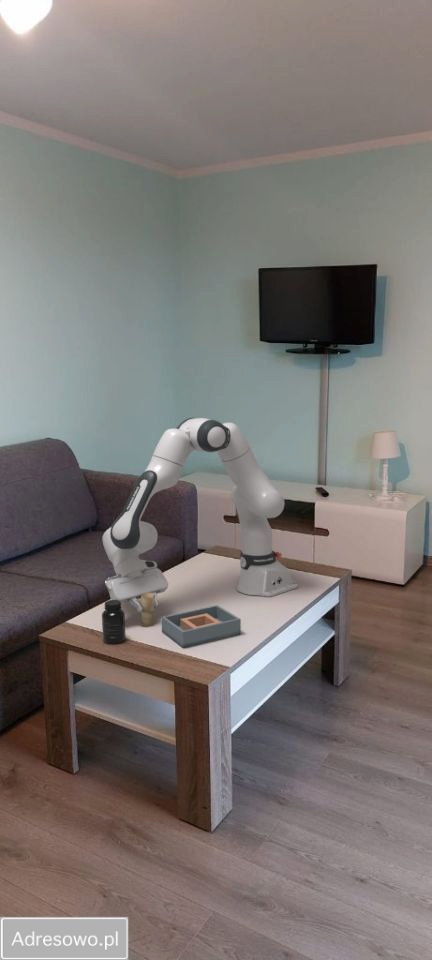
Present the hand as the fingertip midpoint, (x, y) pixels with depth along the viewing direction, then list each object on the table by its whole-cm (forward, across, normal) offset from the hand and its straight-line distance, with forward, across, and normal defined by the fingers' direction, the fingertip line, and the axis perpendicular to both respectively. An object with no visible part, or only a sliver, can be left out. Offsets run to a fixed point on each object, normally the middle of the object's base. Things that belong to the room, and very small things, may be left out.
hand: (148, 608), depth 229 cm
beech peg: (+3, 0, +4) cm, 5 cm away
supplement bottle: (+6, -15, +2) cm, 16 cm away
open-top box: (+15, +8, -8) cm, 19 cm away
